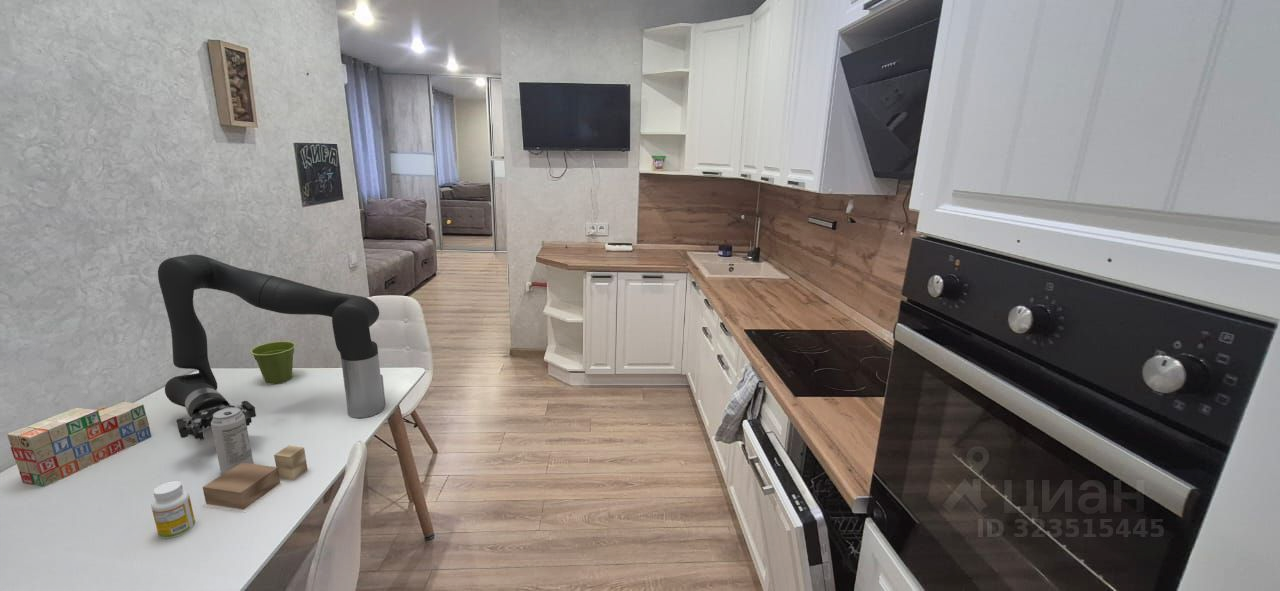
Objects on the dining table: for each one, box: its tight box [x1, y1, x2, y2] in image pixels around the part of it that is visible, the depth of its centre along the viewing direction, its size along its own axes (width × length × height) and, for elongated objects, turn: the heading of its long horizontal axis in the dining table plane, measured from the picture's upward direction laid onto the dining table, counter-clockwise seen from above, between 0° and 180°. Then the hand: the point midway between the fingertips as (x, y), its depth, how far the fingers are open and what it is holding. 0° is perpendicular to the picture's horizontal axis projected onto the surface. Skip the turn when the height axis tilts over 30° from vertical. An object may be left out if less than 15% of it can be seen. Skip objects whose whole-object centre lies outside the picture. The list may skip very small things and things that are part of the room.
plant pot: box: [249, 340, 297, 385], centre depth 163 cm, size 12×12×11 cm
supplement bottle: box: [151, 480, 196, 539], centre depth 98 cm, size 5×5×10 cm
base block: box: [202, 463, 281, 509], centre depth 109 cm, size 9×9×4 cm
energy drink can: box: [210, 406, 255, 475], centre depth 116 cm, size 6×6×15 cm
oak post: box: [273, 444, 308, 481], centre depth 116 cm, size 4×4×6 cm
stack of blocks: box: [6, 401, 152, 487], centre depth 119 cm, size 21×6×12 cm, turn 170°
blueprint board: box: [202, 480, 287, 513], centre depth 111 cm, size 16×11×1 cm
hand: (225, 428), depth 118 cm, fingers open, 8 cm apart
